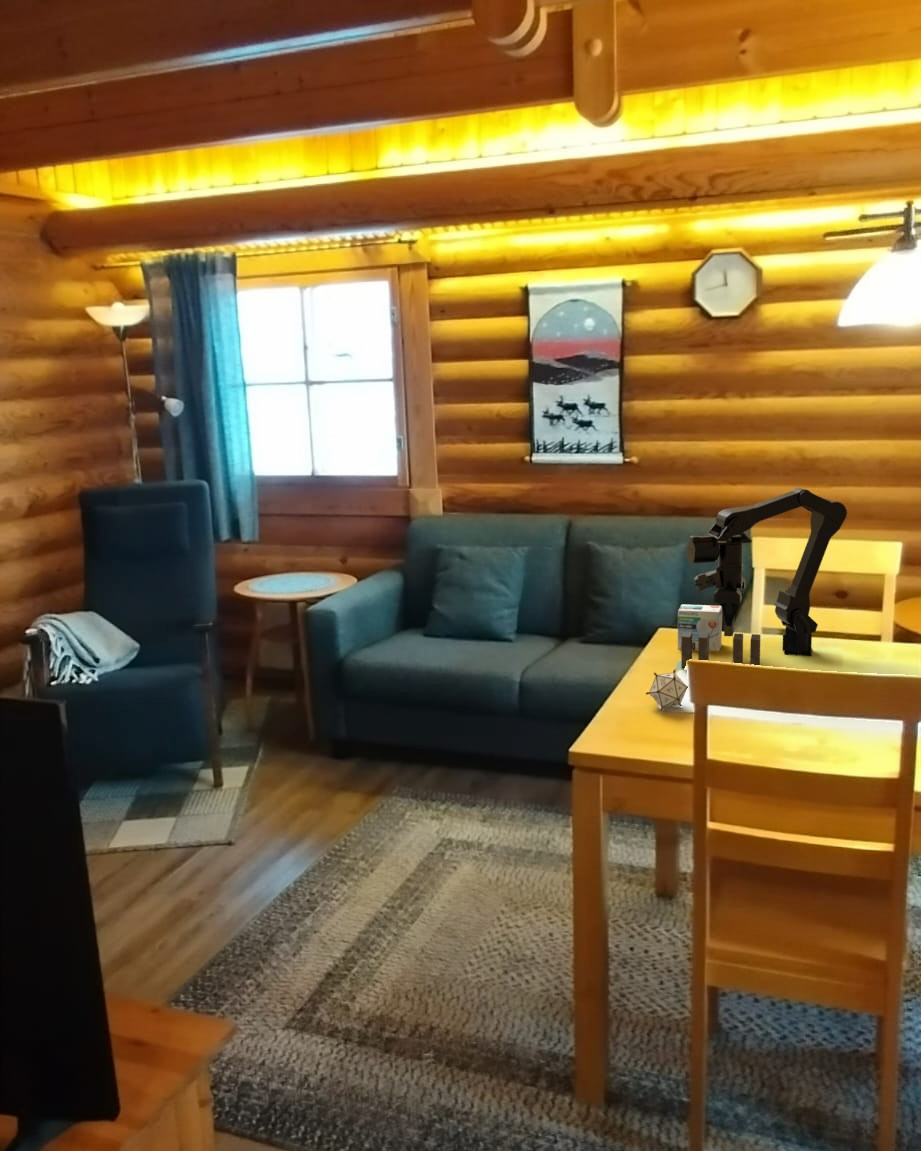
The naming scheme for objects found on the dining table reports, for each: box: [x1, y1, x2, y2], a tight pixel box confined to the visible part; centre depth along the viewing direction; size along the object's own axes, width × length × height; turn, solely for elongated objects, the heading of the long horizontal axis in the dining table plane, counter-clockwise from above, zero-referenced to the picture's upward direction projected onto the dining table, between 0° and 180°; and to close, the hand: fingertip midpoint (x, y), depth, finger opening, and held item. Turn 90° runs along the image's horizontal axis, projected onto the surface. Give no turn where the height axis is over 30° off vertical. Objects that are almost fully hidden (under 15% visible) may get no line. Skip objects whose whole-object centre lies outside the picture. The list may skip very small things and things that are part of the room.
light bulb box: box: [677, 603, 723, 652], centre depth 263 cm, size 11×7×11 cm, turn 70°
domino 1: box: [680, 631, 693, 669], centre depth 248 cm, size 2×5×8 cm, turn 161°
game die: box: [645, 669, 689, 712], centre depth 220 cm, size 9×8×10 cm
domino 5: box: [749, 633, 761, 665], centre depth 242 cm, size 2×5×8 cm, turn 161°
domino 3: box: [723, 617, 735, 637], centre depth 252 cm, size 2×5×8 cm, turn 161°
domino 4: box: [732, 632, 744, 664], centre depth 244 cm, size 2×5×8 cm, turn 161°
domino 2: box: [697, 632, 710, 661], centre depth 246 cm, size 2×5×8 cm, turn 161°
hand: (729, 623), depth 252 cm, fingers closed on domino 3, 5 cm apart
